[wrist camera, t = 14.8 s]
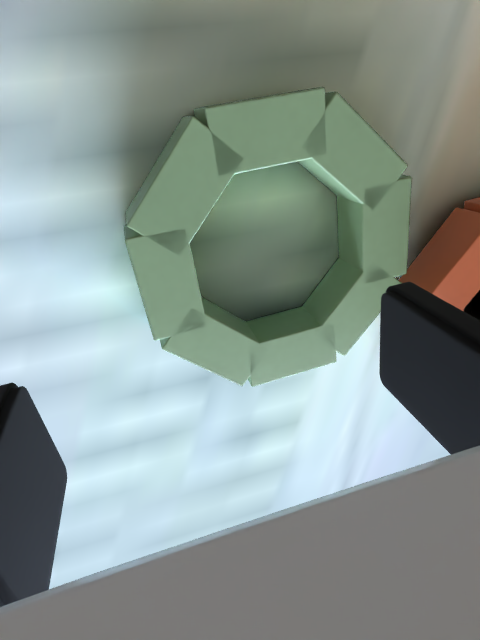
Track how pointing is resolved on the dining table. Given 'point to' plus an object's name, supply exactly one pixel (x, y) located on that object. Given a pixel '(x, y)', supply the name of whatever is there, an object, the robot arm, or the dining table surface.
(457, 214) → the ring terracotta
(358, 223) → the ring green
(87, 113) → the dining table surface
